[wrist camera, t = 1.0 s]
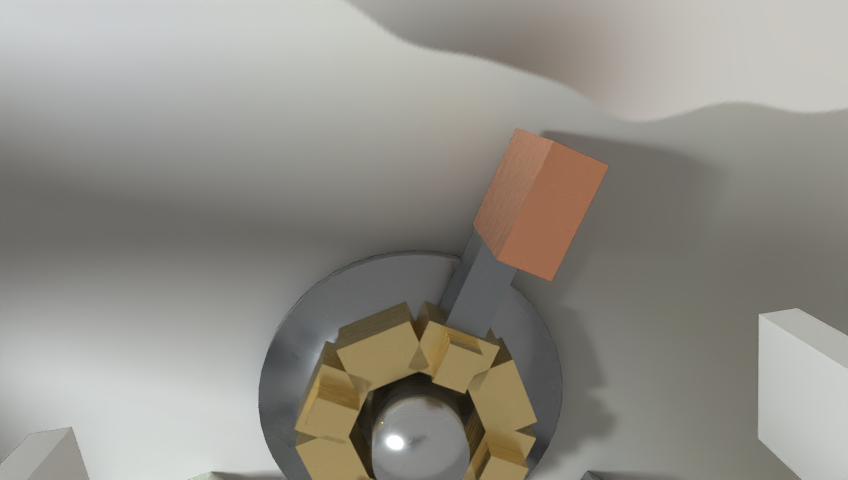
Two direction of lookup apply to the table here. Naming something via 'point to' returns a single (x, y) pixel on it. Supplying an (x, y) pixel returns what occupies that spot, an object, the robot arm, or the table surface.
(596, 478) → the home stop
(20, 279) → the table surface
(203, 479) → the valve
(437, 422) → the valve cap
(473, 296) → the tan and copper piece
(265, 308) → the table surface
